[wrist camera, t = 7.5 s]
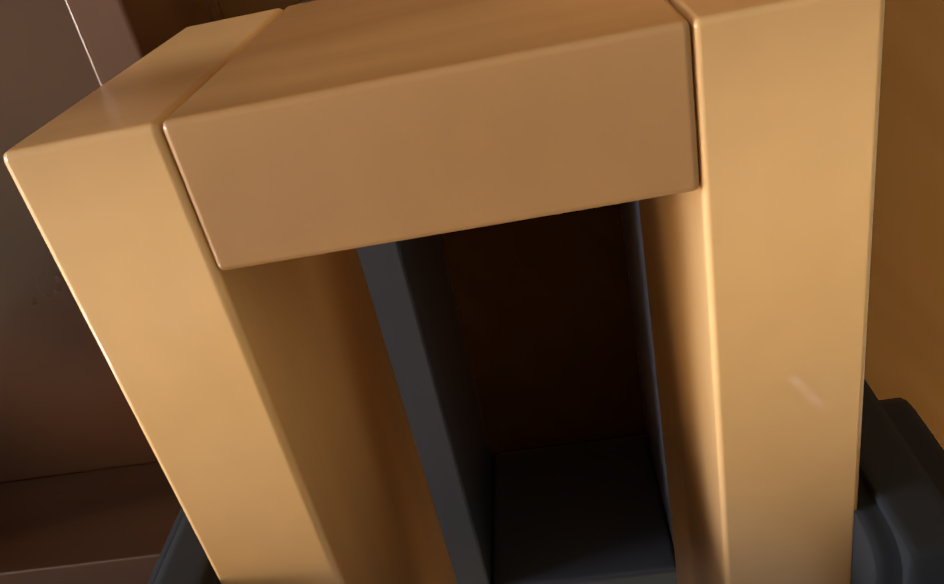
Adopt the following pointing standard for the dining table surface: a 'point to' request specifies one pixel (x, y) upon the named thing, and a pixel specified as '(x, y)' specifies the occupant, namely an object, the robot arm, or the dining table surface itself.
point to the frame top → (465, 207)
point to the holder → (69, 324)
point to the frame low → (528, 471)
